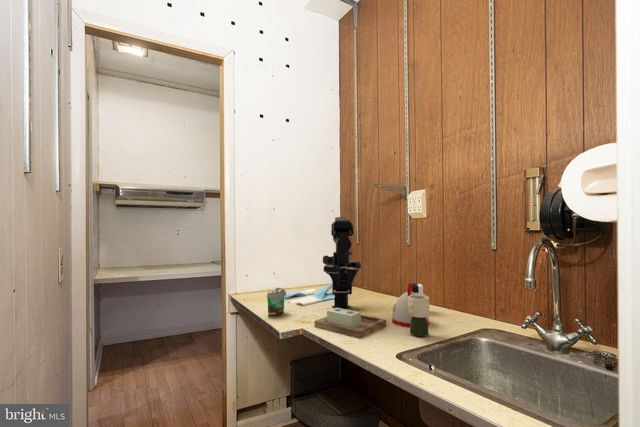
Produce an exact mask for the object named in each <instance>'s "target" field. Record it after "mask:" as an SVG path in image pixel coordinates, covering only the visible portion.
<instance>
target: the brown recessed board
mask: <svg viewBox="0 0 640 427" xmlns="http://www.w3.org/2000/svg"><path fill="white" fill-rule="evenodd" d="M386 326H387V320H386V319H384V318H378V317H373V316H368V315H362V314H361V326H360V327H357V328H355V329H353V328H349V327H345V326H341V325H337V324H332V323H328V322H327V316H325V317H321V318H319V319H316V320H314V327H315V328H317V329H321V330H326V331H330V332H334V333H337V334H341V335H346V336H349V337H352V336H353V337H352V338H358V339H360V338H363V337H366V336H367V335H369V334H371V333H373V332H375V331H378V330H380V329H382V328H384V327H386Z"/></svg>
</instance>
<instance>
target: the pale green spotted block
mask: <svg viewBox="0 0 640 427" xmlns="http://www.w3.org/2000/svg"><path fill="white" fill-rule="evenodd" d="M361 315H362V312H361V311H355V310H351V309H347V308H346V309H341V308H331V309H329V310H328V309H327V310H326V317H327V322H328V323H332V324H337V325H341V326H345V327H349V328H353V329H355V328H357V327H360V326H361Z"/></svg>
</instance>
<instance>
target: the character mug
mask: <svg viewBox="0 0 640 427" xmlns="http://www.w3.org/2000/svg"><path fill="white" fill-rule="evenodd" d="M408 313H409V315H411V316H412V318H411V324H410V328H409V333H410V334H411V335H415V336H417V337H418V336H419V337H420V336H423V337H425V336H426V337H427V336H429V334H430V332H429V325H428V324H427V319H426V318H425V317H428V316H429V317H430V297H429V296H428V295H425V296H423V295H410V296H408Z"/></svg>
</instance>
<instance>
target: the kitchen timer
mask: <svg viewBox="0 0 640 427" xmlns="http://www.w3.org/2000/svg"><path fill="white" fill-rule="evenodd" d="M411 284H412V283H411V282H409V283H408V284H407V291H406V292H404V293H402V294H400V296H399V298H398V299H397V300H396V302H395V303H394V304H393V306H392V315H391V317H392V318H391V319H392V321H391V322H392V323H393V324H394V325H396V326H399V327H403V328H409V329H410V324H411V318H412V316H411V315H409V313H408V296H410V295H417V294H415V293H414V292H412V286H411ZM425 318H426V319H427V324H428V326H429V325H430V315H429V316H428V317H425Z"/></svg>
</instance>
